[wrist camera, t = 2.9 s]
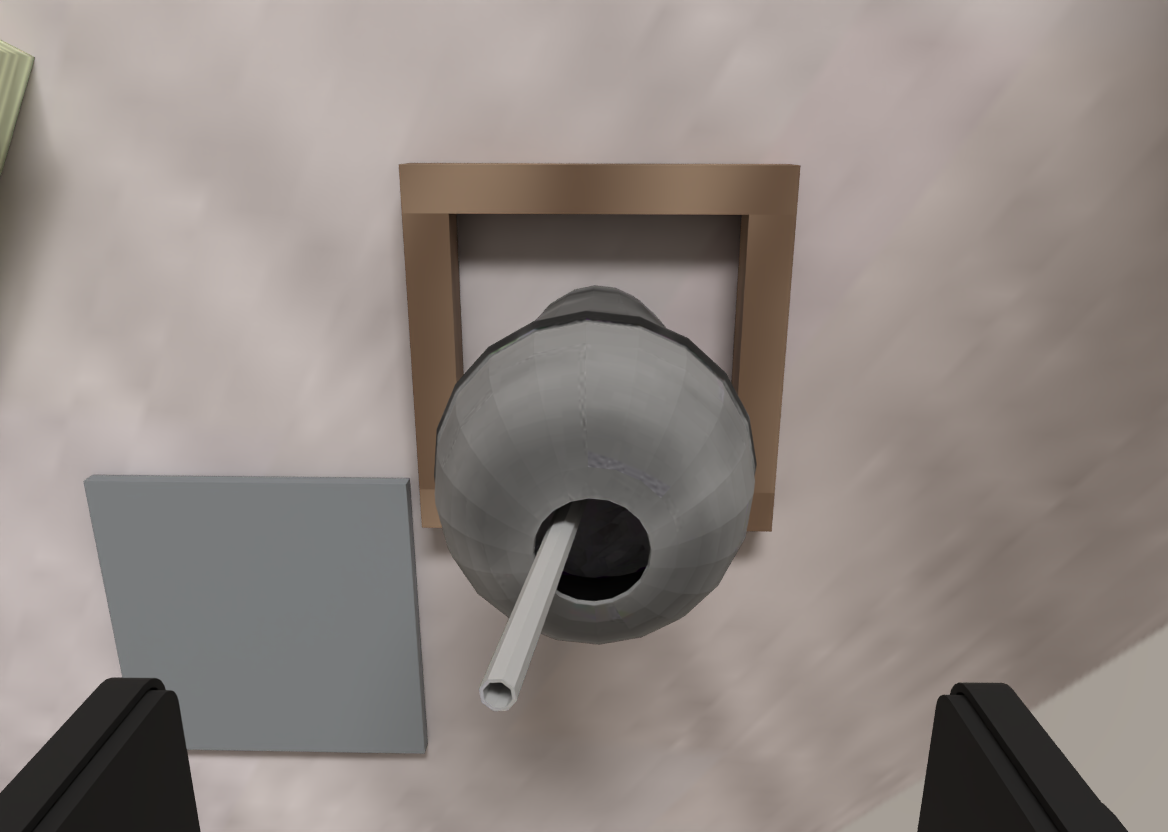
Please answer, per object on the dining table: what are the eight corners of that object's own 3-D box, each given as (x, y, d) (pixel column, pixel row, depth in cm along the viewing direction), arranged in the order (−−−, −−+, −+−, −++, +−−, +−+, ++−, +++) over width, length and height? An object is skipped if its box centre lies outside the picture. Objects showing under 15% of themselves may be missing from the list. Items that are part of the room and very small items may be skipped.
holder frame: (790, 164, 28) (800, 165, 26) (763, 513, 32) (771, 531, 30) (409, 163, 28) (398, 164, 27) (430, 509, 32) (421, 527, 31)
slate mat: (409, 478, 32) (406, 484, 31) (427, 743, 35) (424, 753, 35) (92, 474, 32) (83, 481, 31) (144, 739, 36) (136, 748, 35)
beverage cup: (666, 467, 31) (763, 978, 12) (474, 417, 31) (267, 867, 12) (727, 277, 29) (964, 542, 10) (522, 220, 29) (361, 384, 10)
